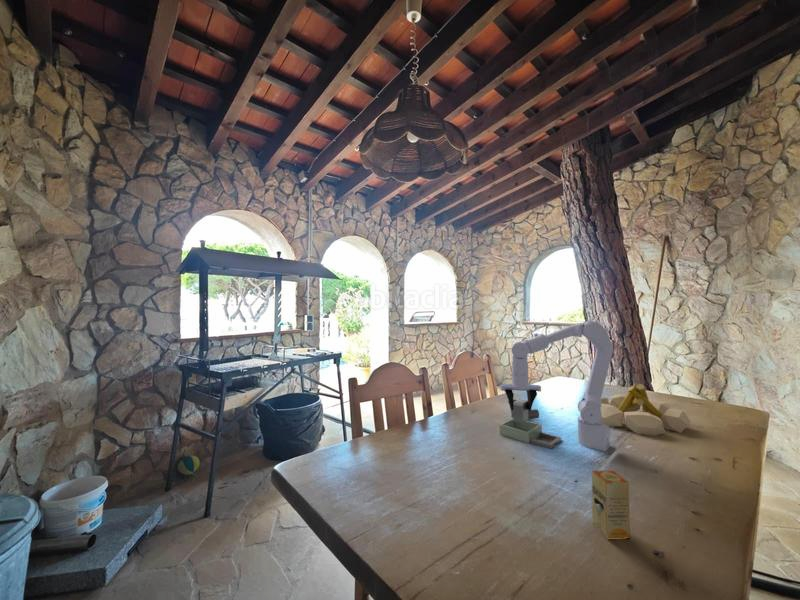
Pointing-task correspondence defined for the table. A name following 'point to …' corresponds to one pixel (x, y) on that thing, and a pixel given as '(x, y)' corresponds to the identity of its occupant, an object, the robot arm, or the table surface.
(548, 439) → the socket block
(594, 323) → the robot arm
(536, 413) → the pipe
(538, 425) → the bin
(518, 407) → the grey plug block
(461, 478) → the table surface
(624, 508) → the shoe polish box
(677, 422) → the campfire
